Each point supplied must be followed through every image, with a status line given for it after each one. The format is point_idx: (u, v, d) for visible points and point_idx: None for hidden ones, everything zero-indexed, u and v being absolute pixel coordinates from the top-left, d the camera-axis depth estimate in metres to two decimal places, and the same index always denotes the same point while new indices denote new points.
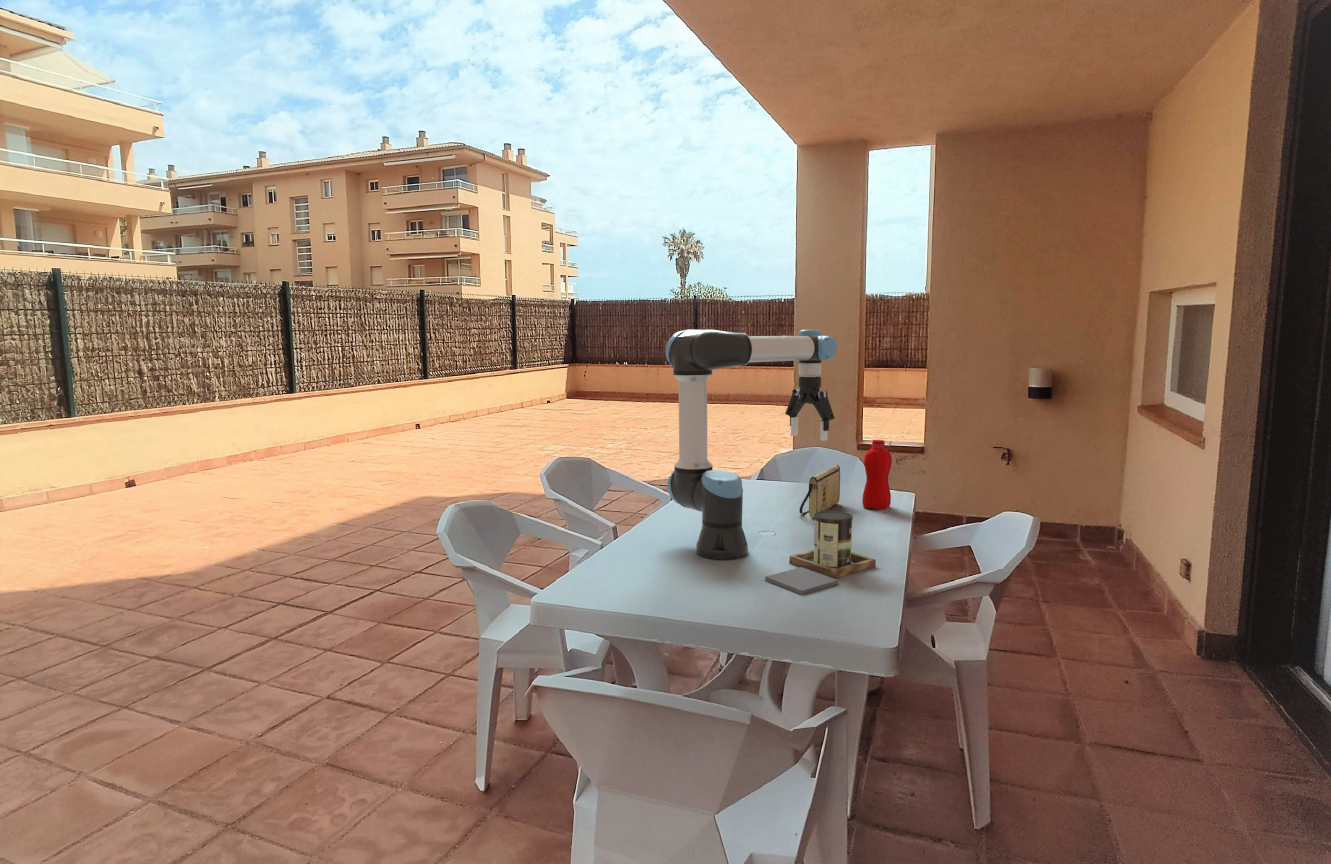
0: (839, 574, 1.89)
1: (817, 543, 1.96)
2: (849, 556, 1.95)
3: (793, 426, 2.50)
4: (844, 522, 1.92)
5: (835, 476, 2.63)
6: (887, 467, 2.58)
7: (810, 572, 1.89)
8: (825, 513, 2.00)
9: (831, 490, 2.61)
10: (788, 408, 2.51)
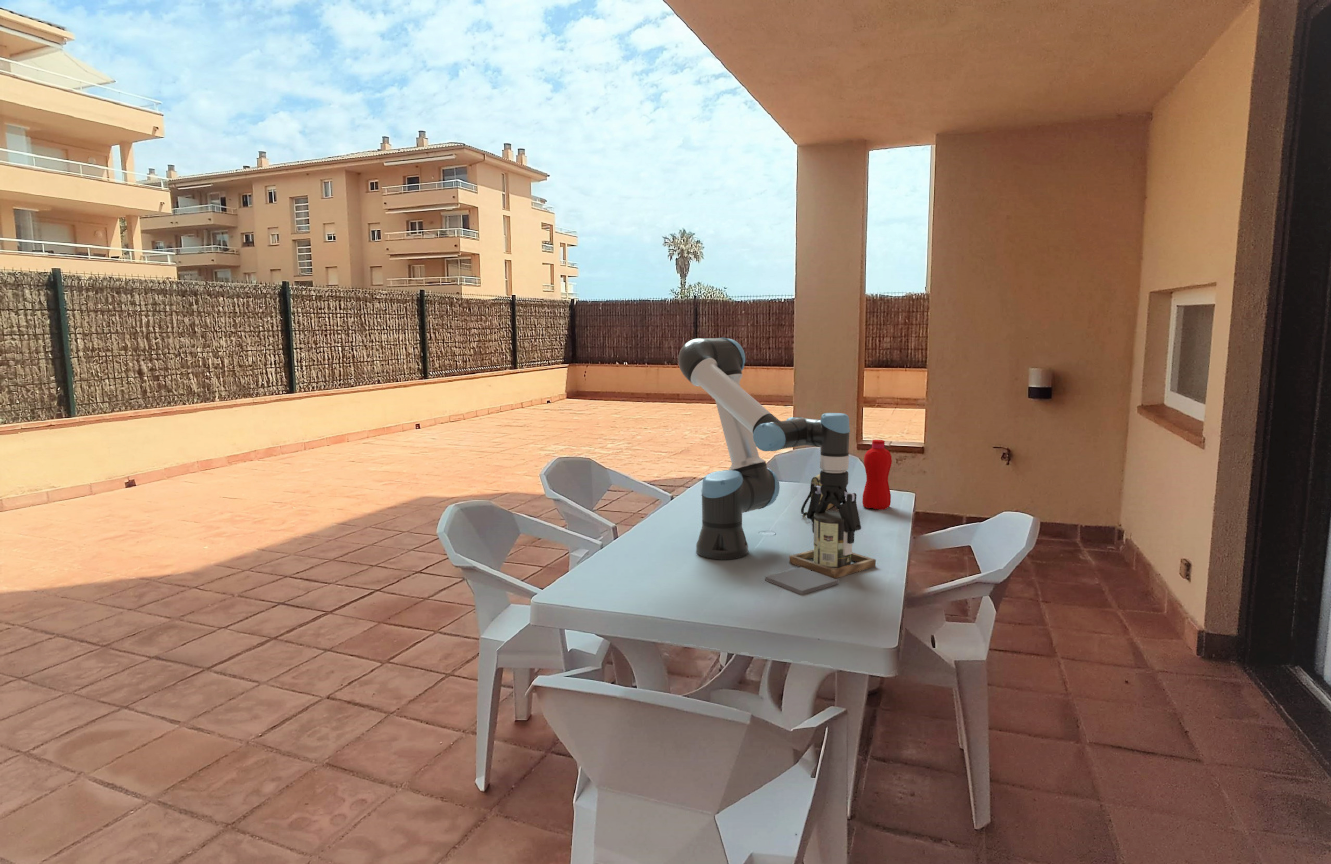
0: (839, 574, 1.89)
1: (816, 543, 1.96)
2: (849, 556, 1.95)
3: None
4: None
5: None
6: (887, 467, 2.58)
7: (810, 572, 1.89)
8: (825, 513, 2.00)
9: None
10: (809, 510, 2.02)
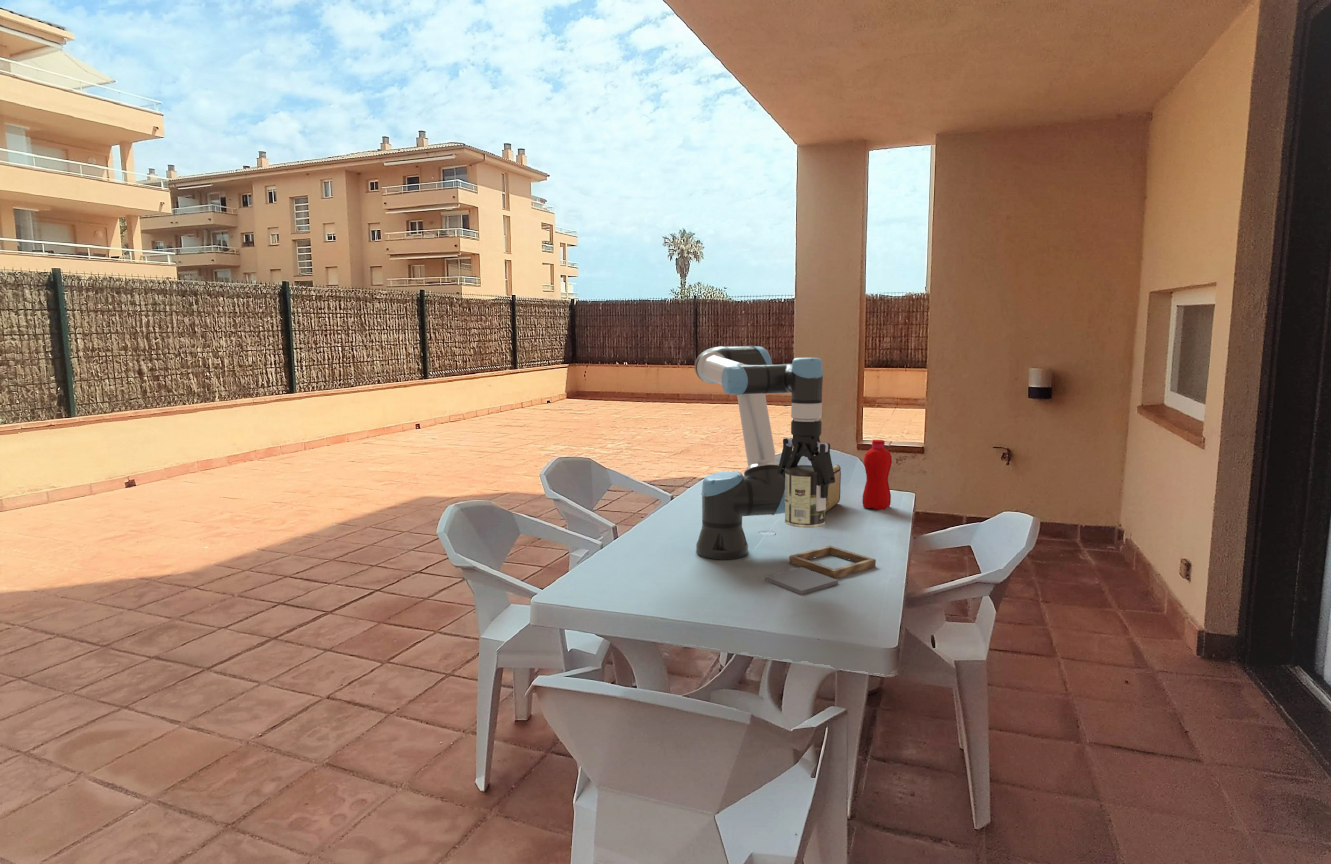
0: (839, 574, 1.89)
1: (788, 498, 1.81)
2: (823, 513, 1.80)
3: None
4: None
5: (836, 476, 2.63)
6: (887, 467, 2.58)
7: (810, 572, 1.89)
8: (797, 467, 1.84)
9: (833, 490, 2.60)
10: (780, 465, 1.87)
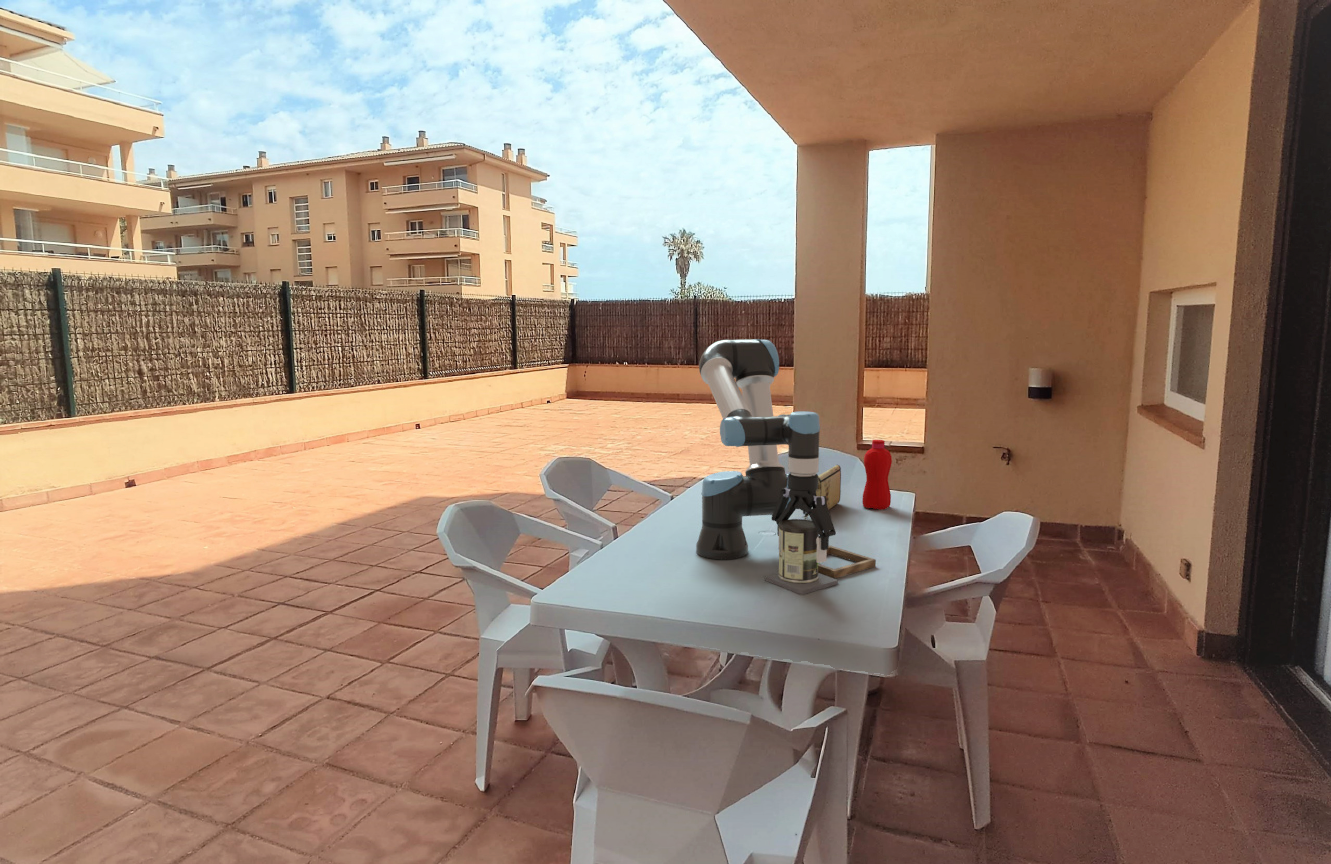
0: (839, 574, 1.89)
1: (781, 554, 1.83)
2: (816, 568, 1.83)
3: None
4: (810, 532, 1.80)
5: (836, 476, 2.63)
6: (887, 467, 2.58)
7: None
8: (791, 521, 1.87)
9: (833, 490, 2.60)
10: (775, 512, 1.89)
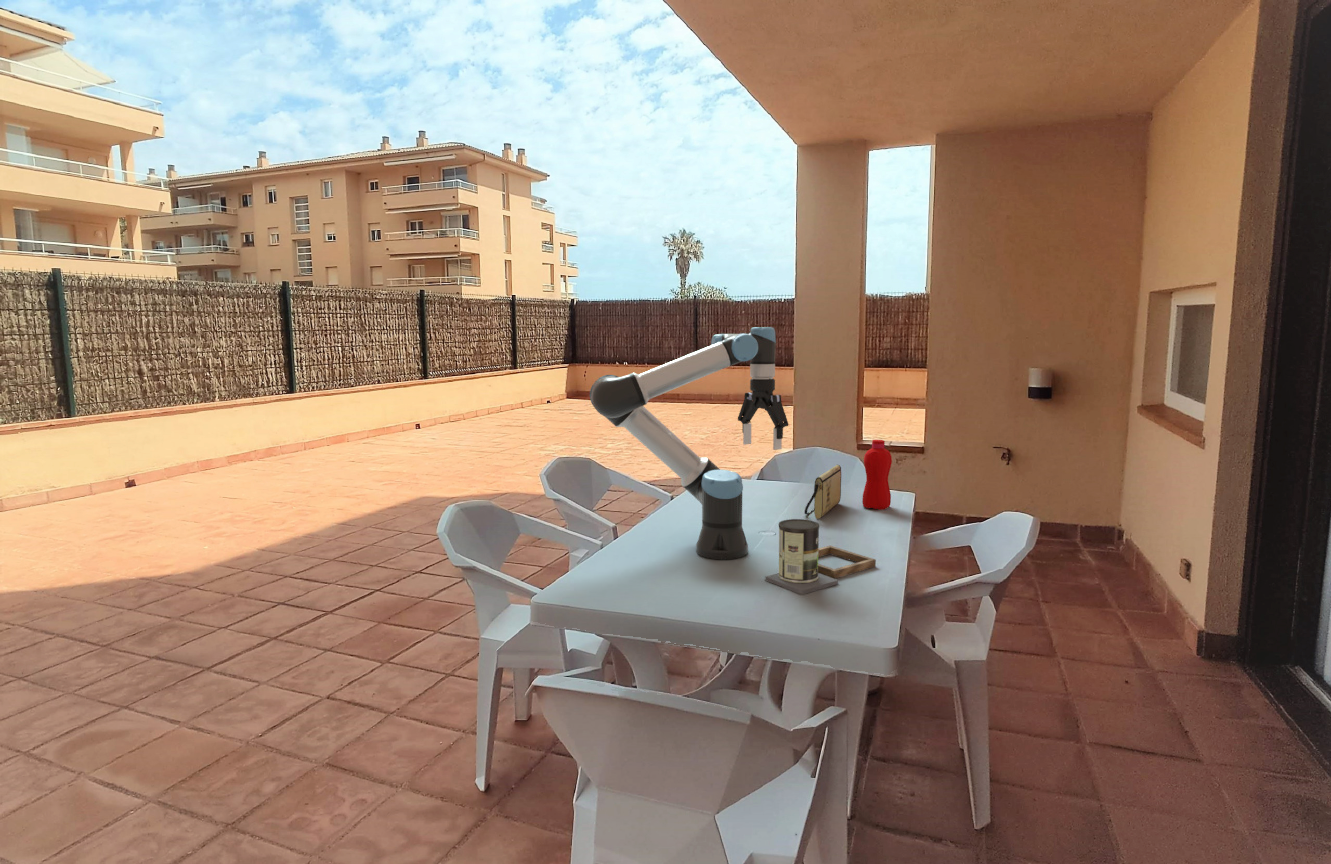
0: (839, 574, 1.89)
1: (781, 554, 1.83)
2: (816, 568, 1.83)
3: (746, 433, 2.27)
4: (810, 532, 1.80)
5: (837, 476, 2.63)
6: (887, 467, 2.58)
7: None
8: (791, 522, 1.87)
9: (834, 490, 2.60)
10: (740, 413, 2.28)
